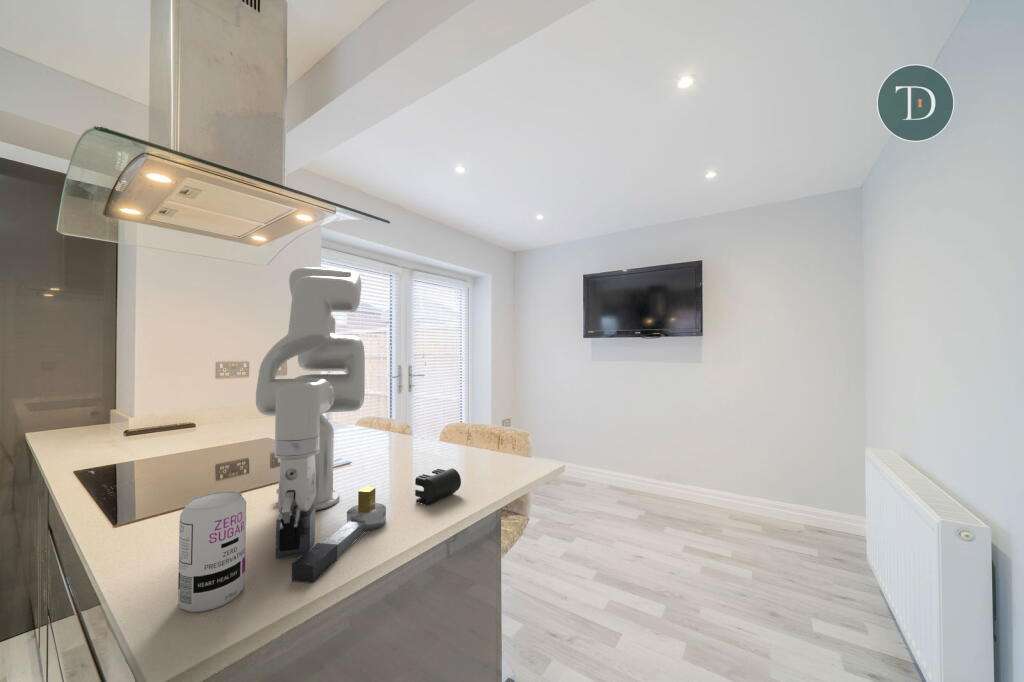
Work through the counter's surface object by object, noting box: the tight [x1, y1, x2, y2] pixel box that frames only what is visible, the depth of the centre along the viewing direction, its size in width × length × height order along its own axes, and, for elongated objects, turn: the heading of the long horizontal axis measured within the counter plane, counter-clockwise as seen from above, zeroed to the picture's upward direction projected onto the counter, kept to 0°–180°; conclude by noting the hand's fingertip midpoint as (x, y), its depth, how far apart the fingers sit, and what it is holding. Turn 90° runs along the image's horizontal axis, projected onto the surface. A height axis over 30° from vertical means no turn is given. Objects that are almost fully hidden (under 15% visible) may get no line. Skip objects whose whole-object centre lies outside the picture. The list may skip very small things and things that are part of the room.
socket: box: [274, 505, 316, 560], centre depth 75 cm, size 6×6×7 cm
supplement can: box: [177, 490, 247, 613], centre depth 61 cm, size 8×8×15 cm
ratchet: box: [291, 486, 387, 584], centre depth 77 cm, size 8×26×8 cm, turn 173°
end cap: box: [414, 467, 462, 506], centre depth 101 cm, size 10×7×7 cm
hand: (295, 537), depth 75 cm, fingers open, 9 cm apart
